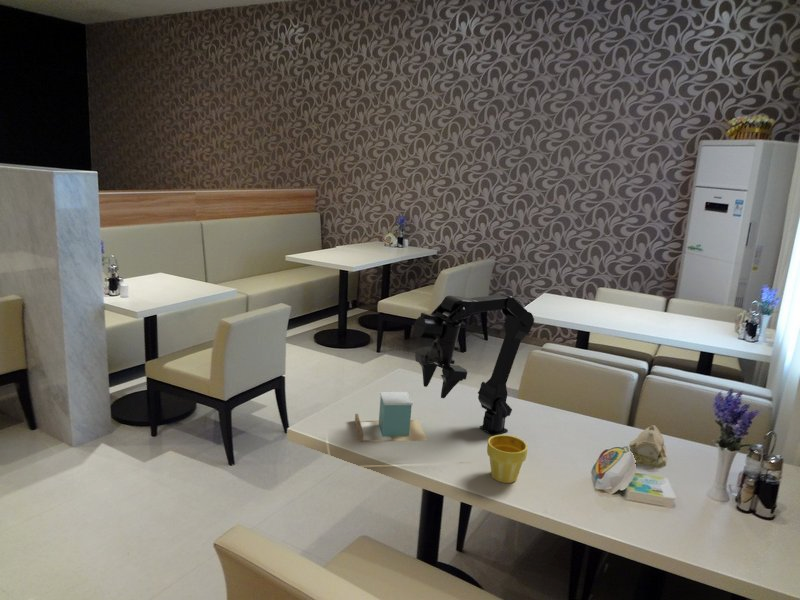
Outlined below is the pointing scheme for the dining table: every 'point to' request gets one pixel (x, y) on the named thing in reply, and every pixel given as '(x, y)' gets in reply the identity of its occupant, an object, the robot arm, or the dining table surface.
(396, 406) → the tin
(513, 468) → the plant pot
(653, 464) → the ceramic model
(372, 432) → the plinth board
